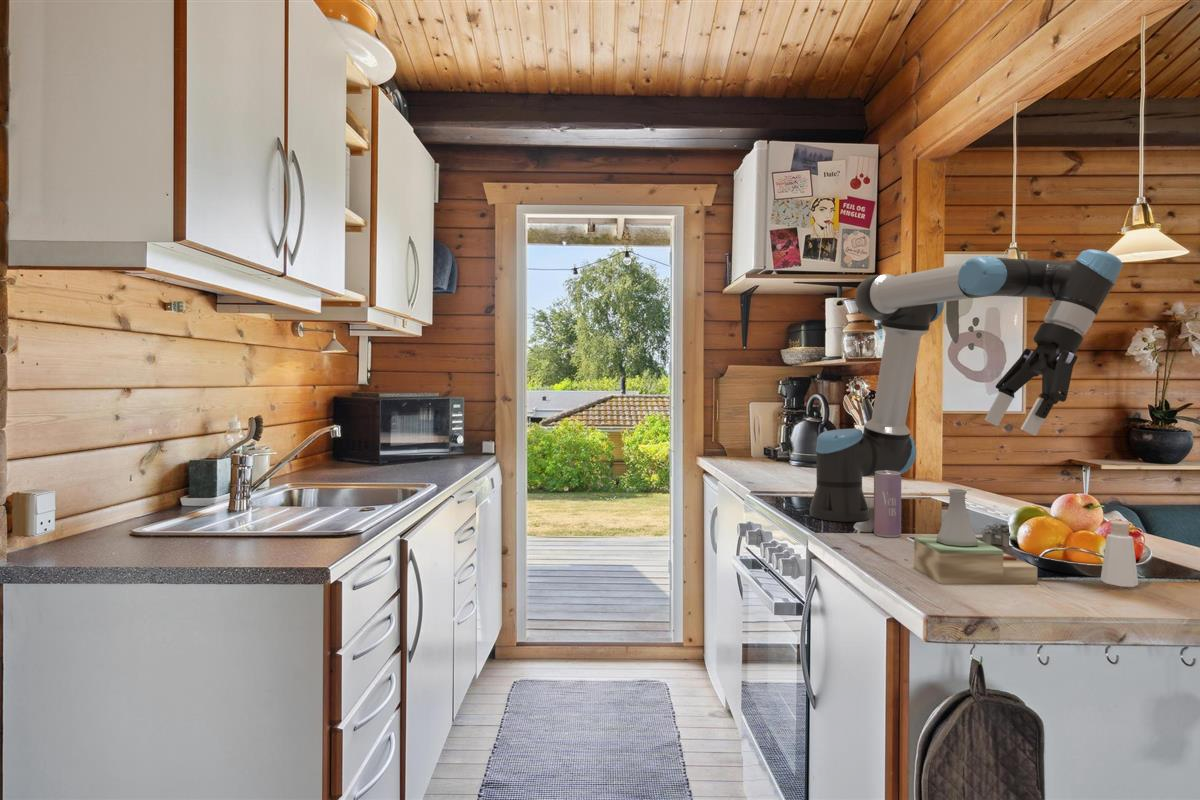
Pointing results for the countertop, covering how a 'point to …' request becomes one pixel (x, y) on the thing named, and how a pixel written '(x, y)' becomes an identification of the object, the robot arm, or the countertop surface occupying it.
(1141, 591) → the countertop surface
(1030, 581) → the stand
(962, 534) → the flask
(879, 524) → the beverage can
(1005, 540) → the egg carton
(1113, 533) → the salt shaker
